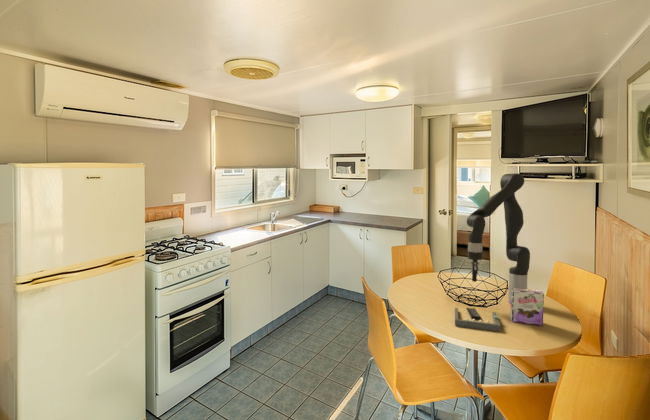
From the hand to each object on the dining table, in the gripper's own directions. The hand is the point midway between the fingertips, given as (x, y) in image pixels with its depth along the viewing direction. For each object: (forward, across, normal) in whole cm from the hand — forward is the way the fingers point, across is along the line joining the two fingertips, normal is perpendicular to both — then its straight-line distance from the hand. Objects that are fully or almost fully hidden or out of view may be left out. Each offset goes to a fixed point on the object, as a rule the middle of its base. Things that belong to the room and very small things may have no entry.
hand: (474, 281), depth 188 cm
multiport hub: (+17, +10, -1) cm, 20 cm away
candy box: (+17, +10, +24) cm, 31 cm away
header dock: (+16, +19, 0) cm, 25 cm away
